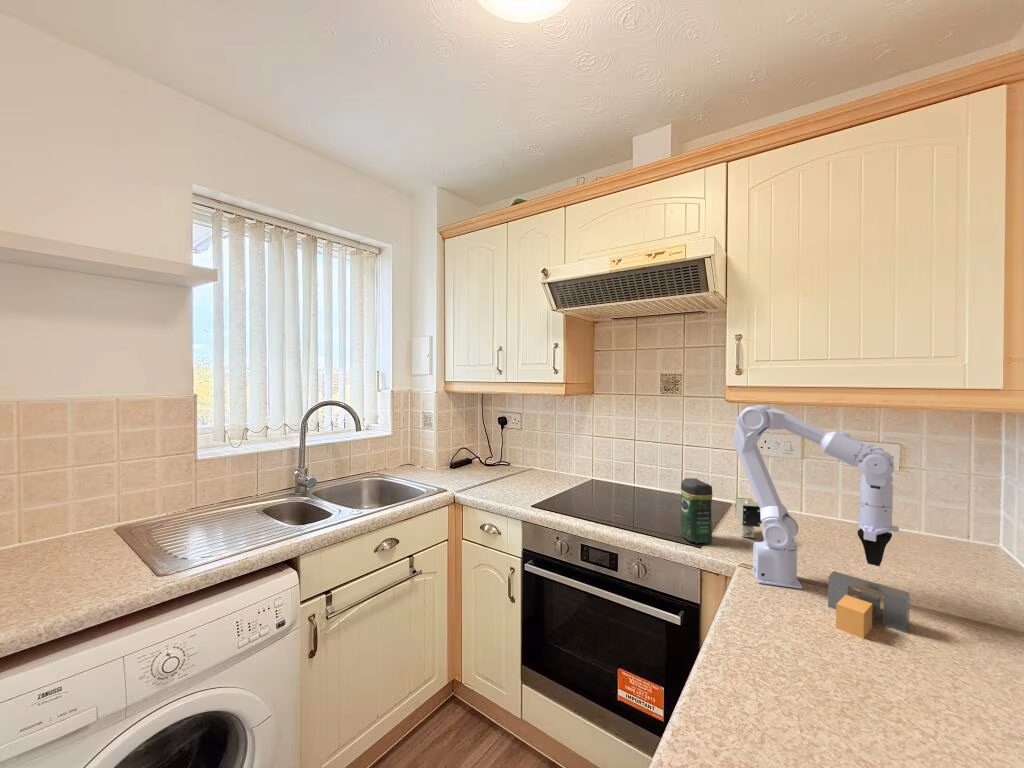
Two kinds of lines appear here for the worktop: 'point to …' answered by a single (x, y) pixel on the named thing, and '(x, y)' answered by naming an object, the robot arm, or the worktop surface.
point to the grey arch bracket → (893, 598)
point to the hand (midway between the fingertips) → (873, 564)
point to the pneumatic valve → (747, 516)
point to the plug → (857, 613)
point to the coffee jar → (696, 511)
